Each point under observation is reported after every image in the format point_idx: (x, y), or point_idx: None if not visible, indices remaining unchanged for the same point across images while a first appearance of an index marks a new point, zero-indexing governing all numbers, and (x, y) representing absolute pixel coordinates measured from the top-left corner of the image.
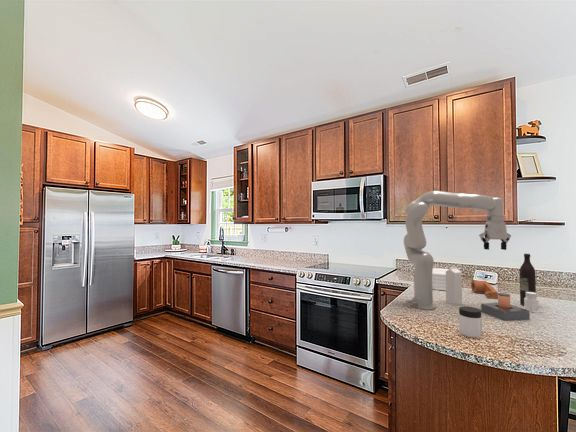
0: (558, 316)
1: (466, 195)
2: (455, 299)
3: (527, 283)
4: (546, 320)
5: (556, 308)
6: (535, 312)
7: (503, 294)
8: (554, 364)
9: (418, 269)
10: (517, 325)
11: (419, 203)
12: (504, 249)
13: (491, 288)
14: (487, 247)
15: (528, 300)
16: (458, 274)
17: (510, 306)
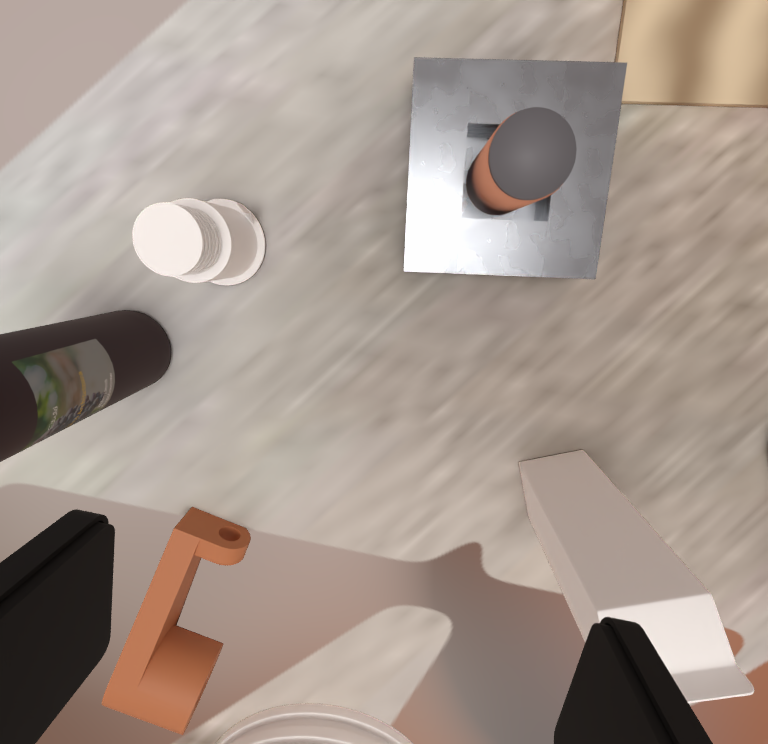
0: (155, 119)
1: None
2: (593, 464)
3: (53, 356)
4: (304, 66)
5: (18, 257)
6: (236, 202)
7: (551, 143)
8: None
9: None
10: (577, 18)
11: None
12: (111, 537)
13: (165, 586)
14: (657, 690)
15: (230, 229)
16: (637, 588)
17: (455, 172)
